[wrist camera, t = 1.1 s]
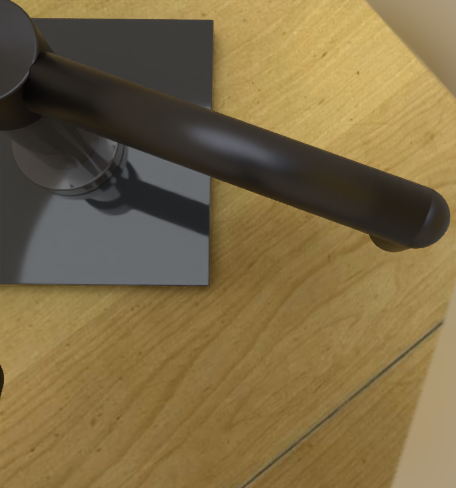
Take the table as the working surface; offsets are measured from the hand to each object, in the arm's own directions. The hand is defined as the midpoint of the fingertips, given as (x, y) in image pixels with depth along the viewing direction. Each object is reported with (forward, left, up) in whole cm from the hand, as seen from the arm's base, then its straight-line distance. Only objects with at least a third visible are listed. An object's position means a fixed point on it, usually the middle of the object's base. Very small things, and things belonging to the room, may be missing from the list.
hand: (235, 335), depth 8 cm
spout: (+6, -2, -7) cm, 9 cm away
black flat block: (+12, +1, -14) cm, 18 cm away
